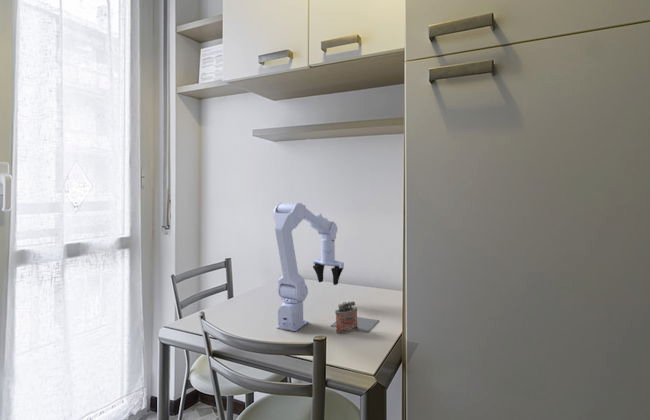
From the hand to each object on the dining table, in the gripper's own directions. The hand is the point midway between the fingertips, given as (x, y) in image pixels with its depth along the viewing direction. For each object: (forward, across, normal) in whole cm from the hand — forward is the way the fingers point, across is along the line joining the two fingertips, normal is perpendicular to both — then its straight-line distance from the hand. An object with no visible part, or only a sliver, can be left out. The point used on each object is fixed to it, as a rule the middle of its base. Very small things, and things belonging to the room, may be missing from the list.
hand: (328, 283), depth 152 cm
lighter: (+10, -20, +17) cm, 28 cm away
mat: (+10, -19, +9) cm, 23 cm away
